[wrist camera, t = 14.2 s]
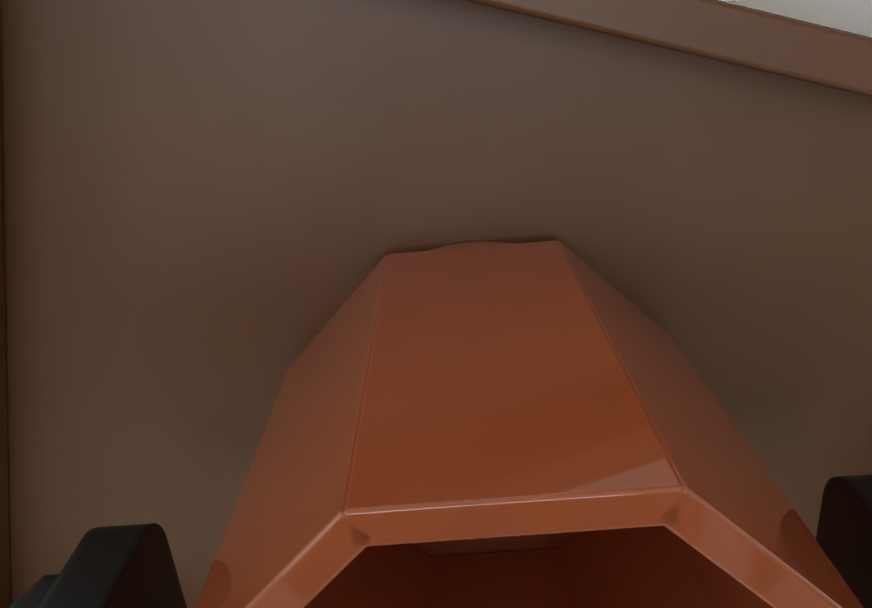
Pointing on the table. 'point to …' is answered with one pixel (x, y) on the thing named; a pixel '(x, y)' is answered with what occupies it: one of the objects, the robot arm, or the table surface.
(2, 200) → the tray
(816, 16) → the table surface
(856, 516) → the robot arm
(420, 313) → the small cup
